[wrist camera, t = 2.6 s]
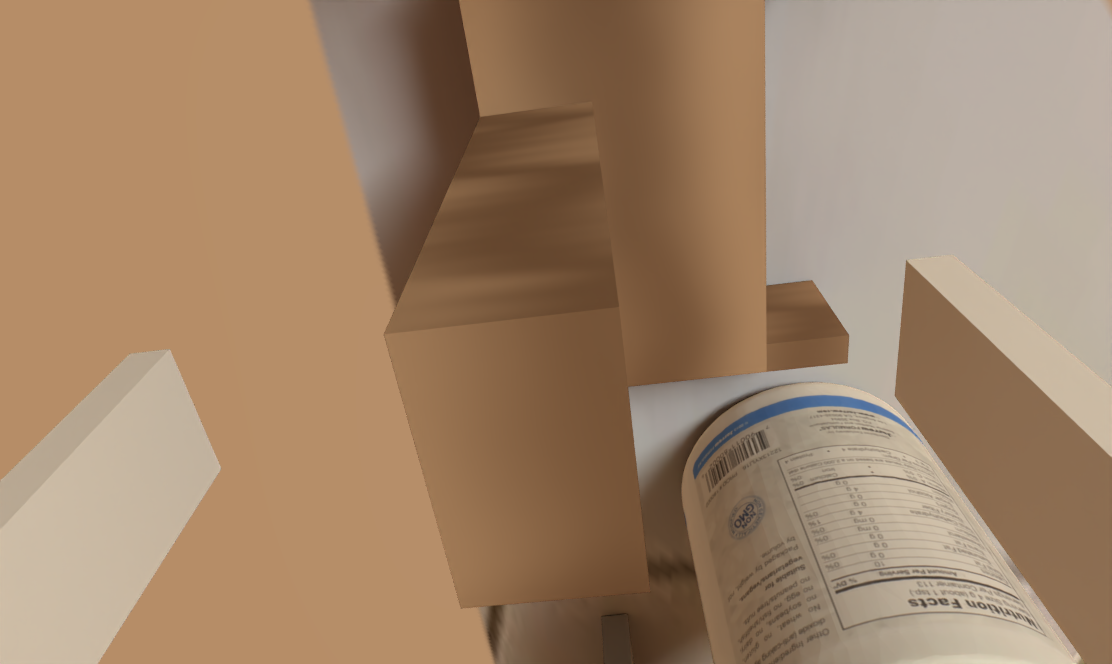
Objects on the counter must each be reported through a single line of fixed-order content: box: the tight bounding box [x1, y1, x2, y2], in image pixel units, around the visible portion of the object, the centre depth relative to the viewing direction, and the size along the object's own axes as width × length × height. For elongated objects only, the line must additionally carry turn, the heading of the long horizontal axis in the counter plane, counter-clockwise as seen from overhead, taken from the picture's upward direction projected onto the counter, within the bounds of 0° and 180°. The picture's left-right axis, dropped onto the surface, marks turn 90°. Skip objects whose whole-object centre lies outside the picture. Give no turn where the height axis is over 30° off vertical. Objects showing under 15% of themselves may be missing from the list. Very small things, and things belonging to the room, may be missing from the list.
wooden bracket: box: [384, 0, 849, 608], centre depth 17 cm, size 10×13×16 cm
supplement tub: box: [682, 382, 1077, 664], centre depth 24 cm, size 10×10×15 cm
